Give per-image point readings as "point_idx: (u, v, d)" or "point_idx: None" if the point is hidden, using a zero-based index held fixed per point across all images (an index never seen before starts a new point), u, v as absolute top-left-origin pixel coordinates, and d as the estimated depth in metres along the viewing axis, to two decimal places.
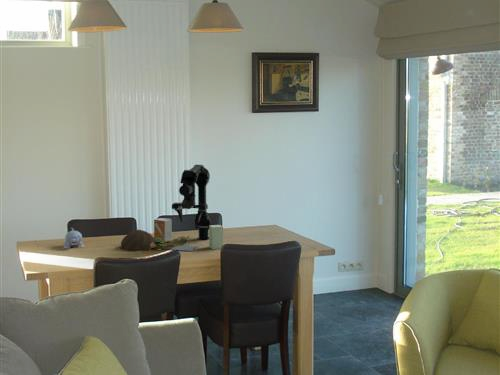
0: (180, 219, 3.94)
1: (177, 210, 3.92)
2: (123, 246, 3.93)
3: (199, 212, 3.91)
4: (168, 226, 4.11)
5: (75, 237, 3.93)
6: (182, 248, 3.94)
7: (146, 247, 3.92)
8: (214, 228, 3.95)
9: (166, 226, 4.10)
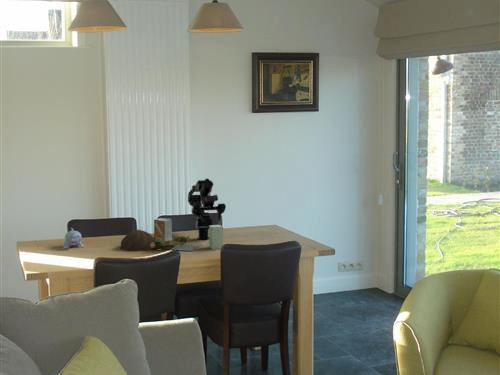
0: (202, 218, 4.04)
1: (199, 209, 4.05)
2: (123, 246, 3.93)
3: (220, 209, 4.09)
4: (168, 226, 4.11)
5: (74, 237, 3.93)
6: (182, 248, 3.94)
7: (146, 247, 3.92)
8: (214, 228, 3.95)
9: (166, 226, 4.10)
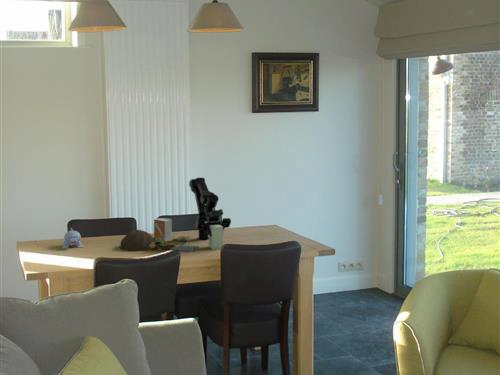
0: (210, 233, 3.97)
1: (207, 223, 3.98)
2: (123, 246, 3.93)
3: (223, 224, 4.01)
4: (168, 226, 4.11)
5: (73, 237, 3.93)
6: (182, 248, 3.94)
7: (146, 247, 3.92)
8: (214, 228, 3.95)
9: (166, 226, 4.10)
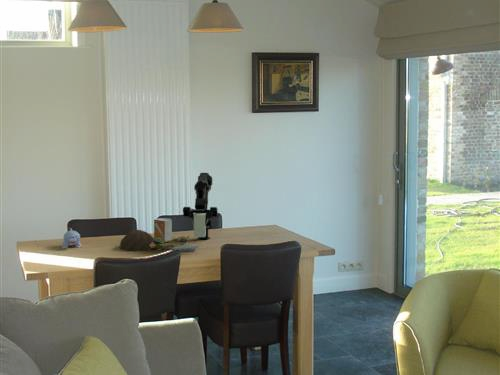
0: (192, 221, 3.94)
1: (191, 211, 3.95)
2: (123, 246, 3.93)
3: (208, 213, 3.95)
4: (168, 226, 4.11)
5: (73, 237, 3.93)
6: (182, 248, 3.94)
7: (146, 247, 3.92)
8: (196, 216, 3.91)
9: (166, 226, 4.10)
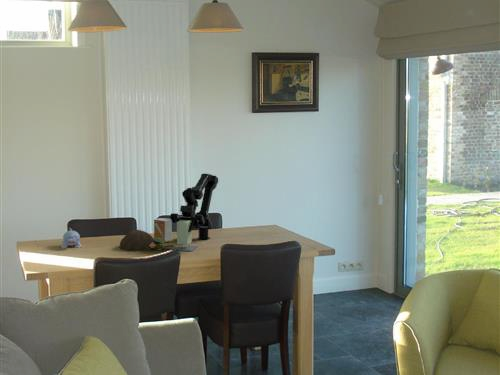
0: None
1: (177, 218, 3.97)
2: (123, 246, 3.93)
3: (192, 221, 3.94)
4: (168, 226, 4.11)
5: (72, 237, 3.93)
6: (182, 248, 3.94)
7: (147, 247, 3.92)
8: (178, 223, 3.92)
9: (166, 226, 4.10)
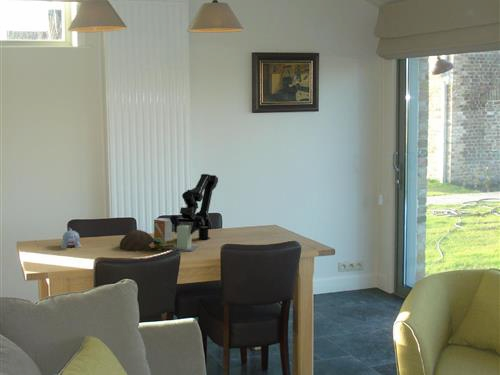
0: (175, 230, 3.95)
1: (174, 220, 3.97)
2: (123, 246, 3.93)
3: (195, 223, 3.94)
4: (168, 226, 4.11)
5: (72, 237, 3.93)
6: None
7: (147, 247, 3.92)
8: (179, 227, 3.92)
9: (166, 226, 4.10)
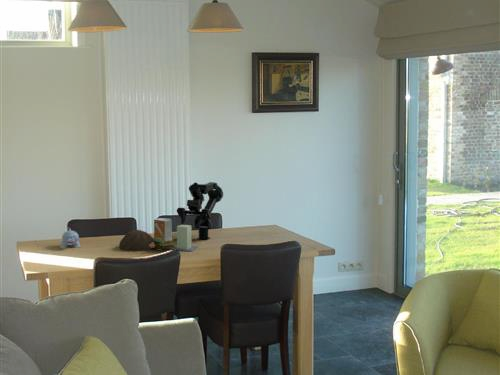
0: (181, 222, 4.04)
1: (181, 212, 4.06)
2: (123, 246, 3.92)
3: (201, 215, 4.02)
4: (168, 226, 4.11)
5: (71, 237, 3.93)
6: None
7: (147, 247, 3.92)
8: (179, 227, 3.92)
9: (166, 226, 4.10)
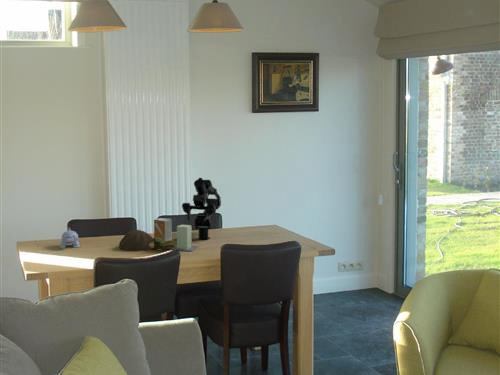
0: None
1: (187, 207, 4.10)
2: (123, 246, 3.92)
3: (207, 209, 4.08)
4: (168, 226, 4.11)
5: (70, 237, 3.93)
6: None
7: (147, 247, 3.92)
8: (179, 227, 3.92)
9: (166, 226, 4.10)
